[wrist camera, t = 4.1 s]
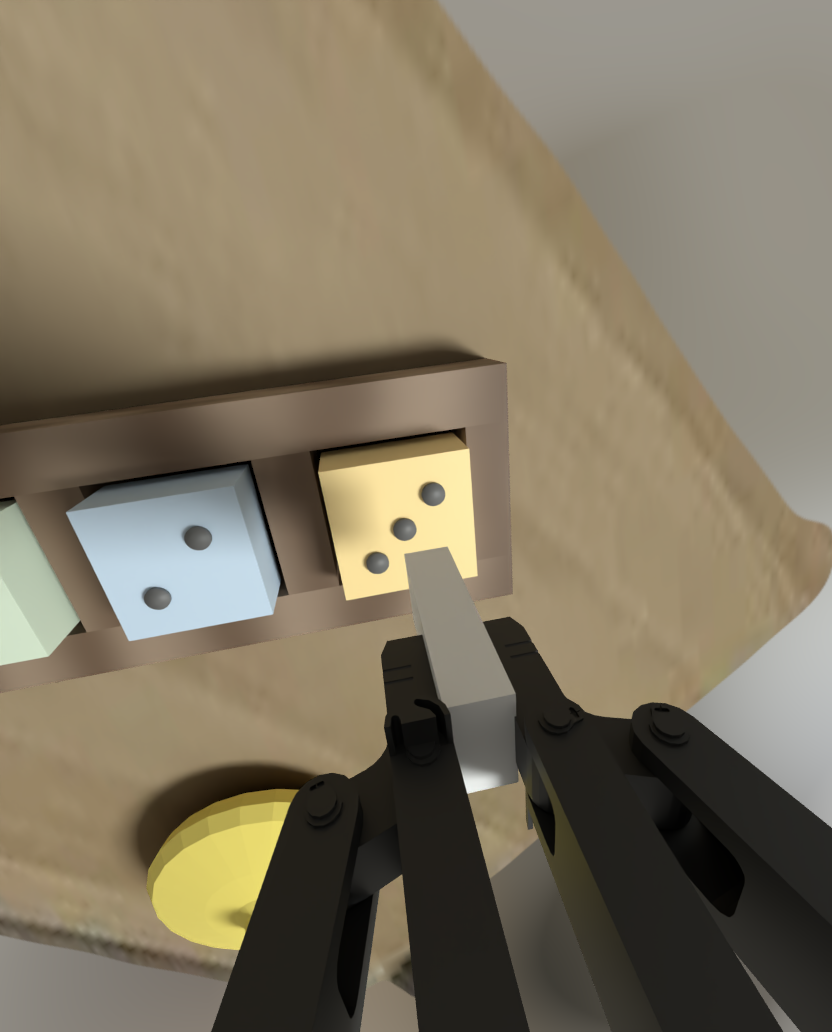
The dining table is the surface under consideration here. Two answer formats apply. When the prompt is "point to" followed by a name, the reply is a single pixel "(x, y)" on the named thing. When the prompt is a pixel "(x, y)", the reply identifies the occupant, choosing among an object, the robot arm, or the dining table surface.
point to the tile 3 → (398, 509)
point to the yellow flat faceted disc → (217, 867)
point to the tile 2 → (180, 550)
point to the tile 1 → (28, 593)
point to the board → (283, 488)
